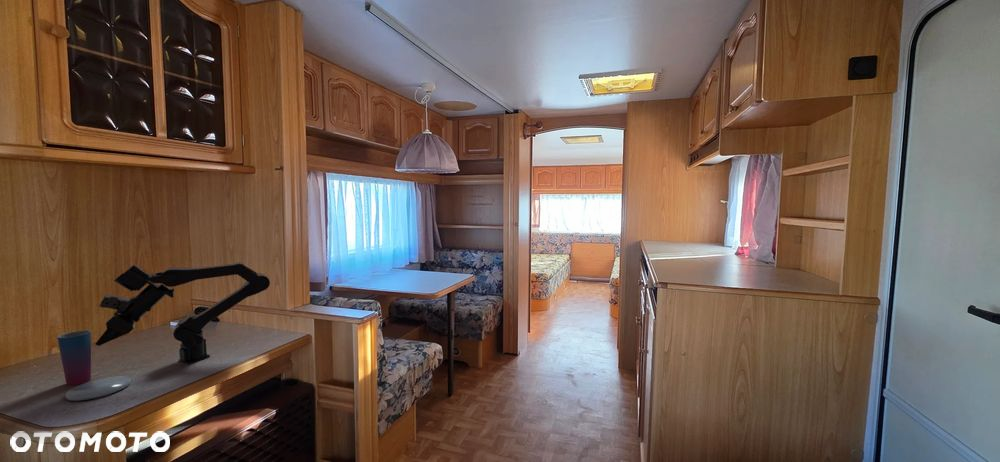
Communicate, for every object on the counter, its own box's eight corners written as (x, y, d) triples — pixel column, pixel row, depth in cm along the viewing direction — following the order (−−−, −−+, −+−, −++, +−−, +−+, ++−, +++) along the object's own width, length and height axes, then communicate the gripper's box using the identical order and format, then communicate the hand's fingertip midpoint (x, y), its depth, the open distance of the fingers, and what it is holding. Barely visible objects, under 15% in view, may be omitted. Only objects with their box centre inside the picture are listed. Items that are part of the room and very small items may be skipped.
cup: (101, 376, 120) (97, 329, 119) (78, 387, 113) (74, 337, 112) (79, 376, 120) (74, 330, 118) (54, 387, 113) (49, 337, 112)
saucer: (115, 377, 119) (114, 373, 119) (141, 383, 115) (140, 379, 115) (55, 397, 107) (55, 393, 107) (82, 405, 103) (81, 401, 103)
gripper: (125, 280, 128) (79, 318, 122) (114, 290, 113) (62, 334, 107) (158, 299, 133) (116, 337, 127) (152, 312, 118) (104, 355, 113)
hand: (100, 340), depth 118 cm, fingers open, 9 cm apart
